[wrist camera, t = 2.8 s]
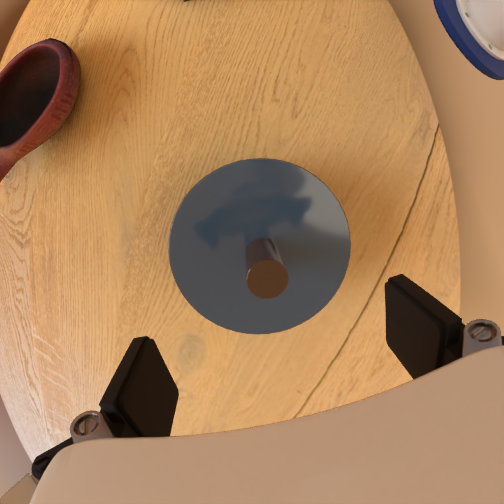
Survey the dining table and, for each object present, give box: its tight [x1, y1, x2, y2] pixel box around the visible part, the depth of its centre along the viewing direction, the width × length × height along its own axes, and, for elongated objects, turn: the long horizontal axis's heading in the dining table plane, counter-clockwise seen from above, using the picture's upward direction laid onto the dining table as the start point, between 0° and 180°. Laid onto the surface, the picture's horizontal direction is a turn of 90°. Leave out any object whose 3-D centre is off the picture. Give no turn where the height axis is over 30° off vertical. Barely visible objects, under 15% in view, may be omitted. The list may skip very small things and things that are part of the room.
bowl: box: [0, 38, 81, 182], centre depth 21 cm, size 16×13×8 cm
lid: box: [169, 158, 351, 334], centre depth 19 cm, size 14×14×6 cm
